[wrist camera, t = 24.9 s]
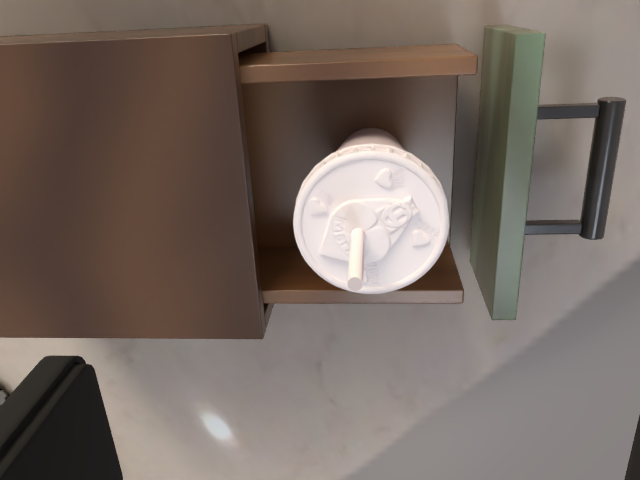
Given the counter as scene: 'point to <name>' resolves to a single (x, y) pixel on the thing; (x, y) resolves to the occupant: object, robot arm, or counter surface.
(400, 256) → the smoothie
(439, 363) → the counter surface
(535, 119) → the drawer
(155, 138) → the cabinet
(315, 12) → the counter surface
